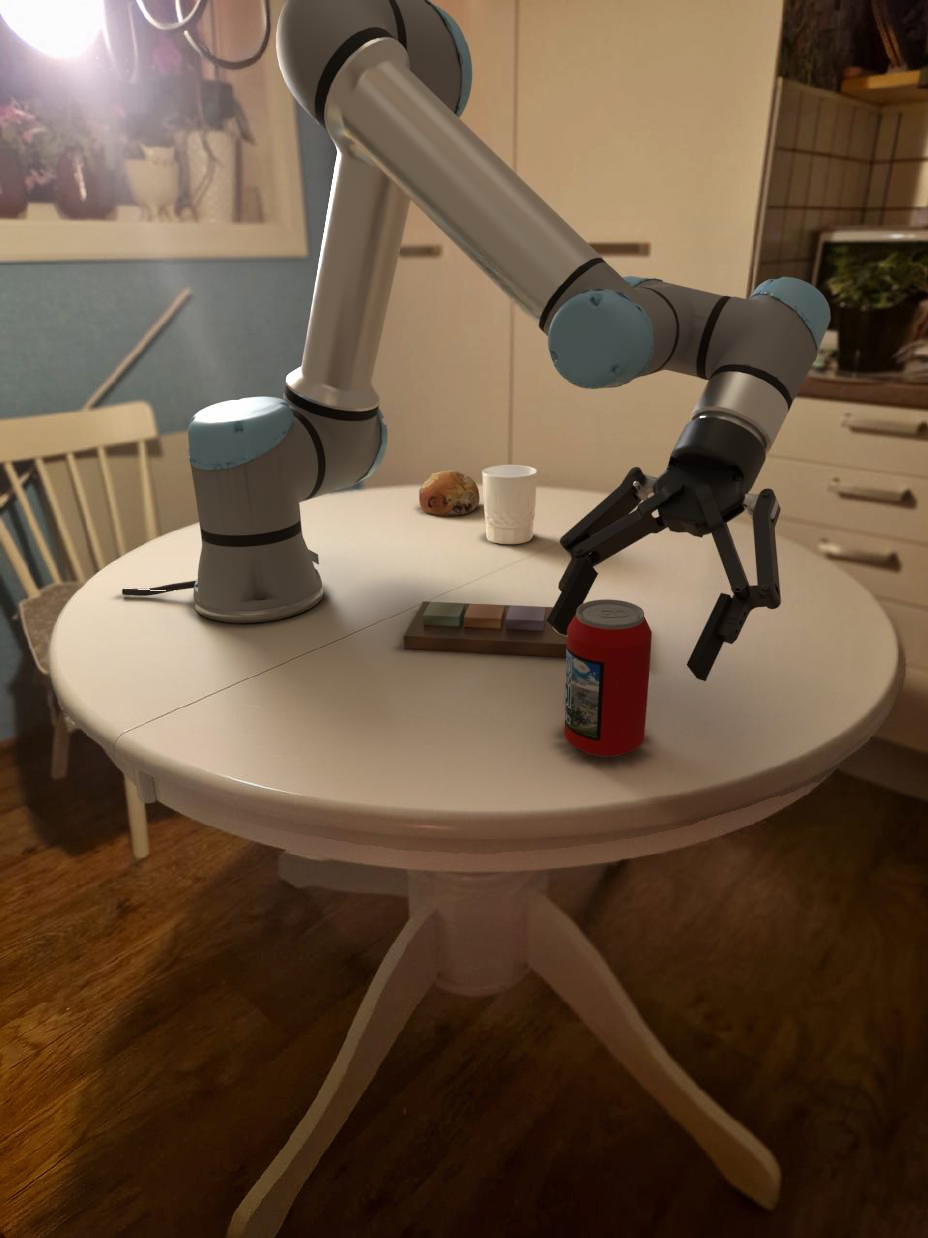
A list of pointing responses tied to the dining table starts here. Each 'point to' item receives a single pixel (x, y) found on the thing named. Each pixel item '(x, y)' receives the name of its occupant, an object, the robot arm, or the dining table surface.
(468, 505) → the bread roll
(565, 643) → the paint palette tray
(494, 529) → the white cup
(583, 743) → the beverage can
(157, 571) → the dining table surface
